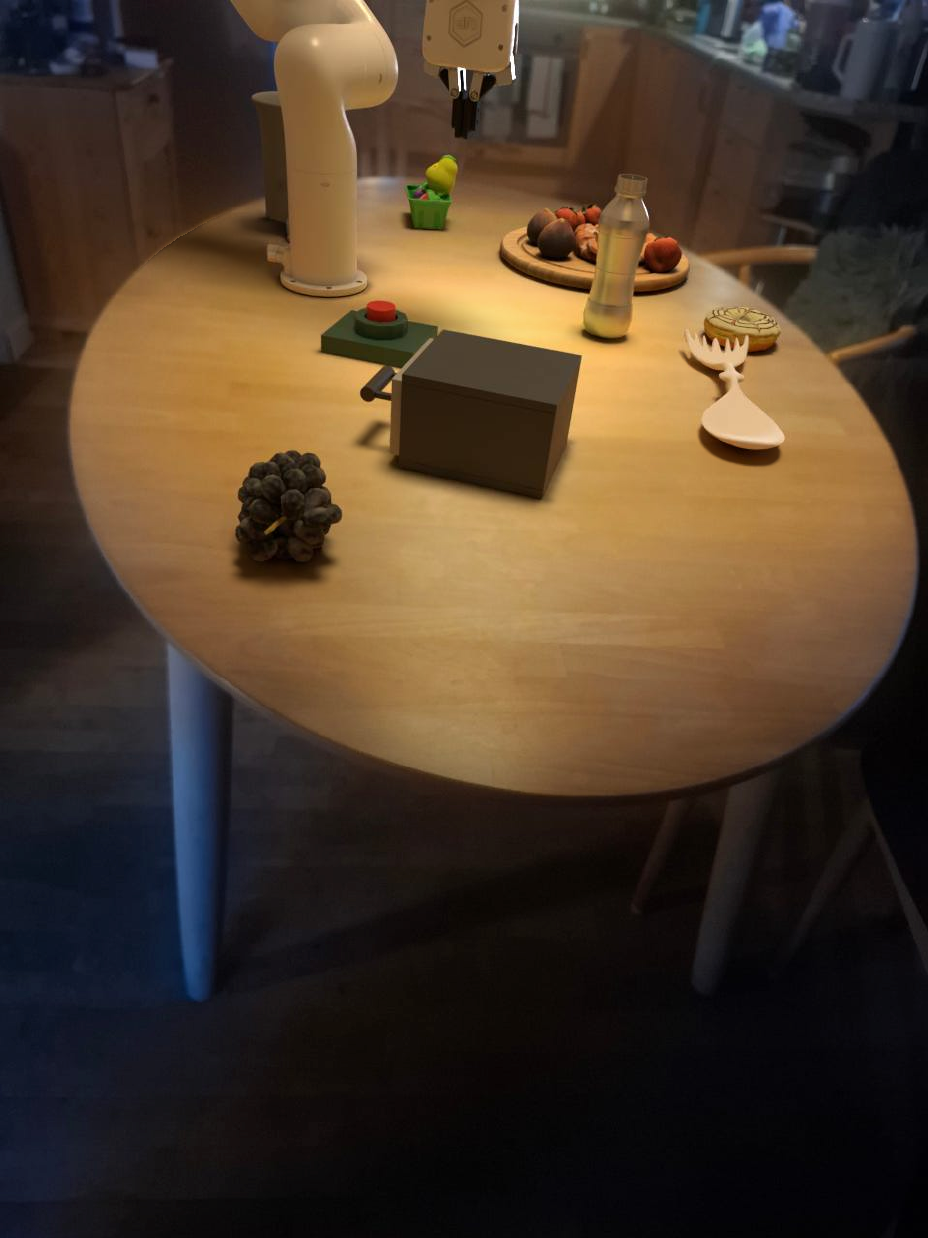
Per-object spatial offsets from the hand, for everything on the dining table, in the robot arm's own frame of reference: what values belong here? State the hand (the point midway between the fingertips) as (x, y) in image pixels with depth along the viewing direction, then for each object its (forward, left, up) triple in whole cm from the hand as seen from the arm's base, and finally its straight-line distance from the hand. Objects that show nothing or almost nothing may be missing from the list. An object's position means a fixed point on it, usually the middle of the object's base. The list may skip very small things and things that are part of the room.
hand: (464, 136), depth 103 cm
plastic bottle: (+20, +8, -23) cm, 32 cm away
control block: (-6, -11, -23) cm, 26 cm away
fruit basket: (-19, +49, -23) cm, 57 cm away
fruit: (+2, -54, -23) cm, 59 cm away
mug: (-37, +33, -23) cm, 55 cm away
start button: (-6, -11, -19) cm, 23 cm away
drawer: (+10, -33, -22) cm, 41 cm away
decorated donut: (+38, +15, -23) cm, 47 cm away
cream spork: (+38, -7, -23) cm, 45 cm away
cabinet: (+14, -33, -23) cm, 43 cm away
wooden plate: (+13, +41, -23) cm, 48 cm away
